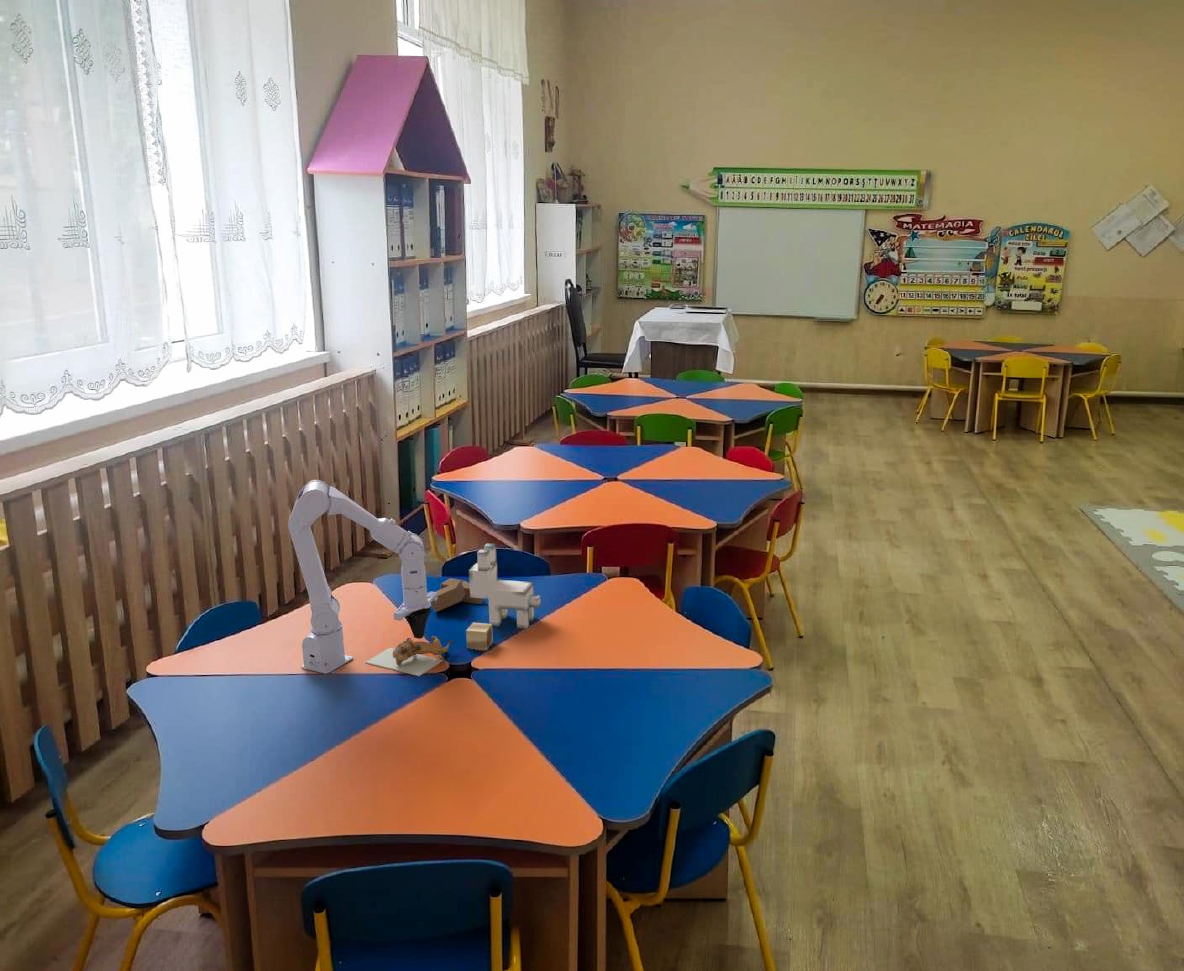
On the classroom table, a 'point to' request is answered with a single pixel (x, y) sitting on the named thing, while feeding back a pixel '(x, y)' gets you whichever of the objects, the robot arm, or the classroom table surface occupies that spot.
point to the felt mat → (404, 663)
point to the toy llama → (501, 590)
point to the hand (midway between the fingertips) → (418, 637)
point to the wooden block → (453, 594)
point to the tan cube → (479, 636)
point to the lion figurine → (418, 649)
